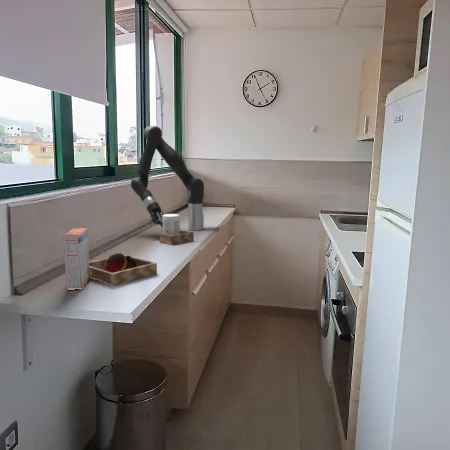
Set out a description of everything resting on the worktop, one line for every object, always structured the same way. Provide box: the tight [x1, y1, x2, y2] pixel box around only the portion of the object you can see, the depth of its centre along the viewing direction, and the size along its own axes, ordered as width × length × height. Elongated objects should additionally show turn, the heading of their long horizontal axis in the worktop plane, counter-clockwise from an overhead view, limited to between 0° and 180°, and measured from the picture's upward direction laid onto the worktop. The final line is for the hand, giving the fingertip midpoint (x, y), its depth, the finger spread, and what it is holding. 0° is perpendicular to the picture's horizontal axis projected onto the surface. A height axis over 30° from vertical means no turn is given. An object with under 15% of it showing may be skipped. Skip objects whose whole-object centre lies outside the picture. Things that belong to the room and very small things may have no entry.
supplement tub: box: [162, 213, 181, 235], centre depth 246 cm, size 10×10×15 cm
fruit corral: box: [89, 254, 158, 286], centre depth 180 cm, size 22×22×4 cm
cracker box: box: [62, 227, 91, 289], centre depth 164 cm, size 14×6×21 cm, turn 5°
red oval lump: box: [104, 252, 137, 273], centre depth 181 cm, size 12×12×15 cm
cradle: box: [159, 229, 195, 246], centre depth 245 cm, size 16×10×5 cm, turn 139°
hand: (165, 228), depth 250 cm, fingers closed
